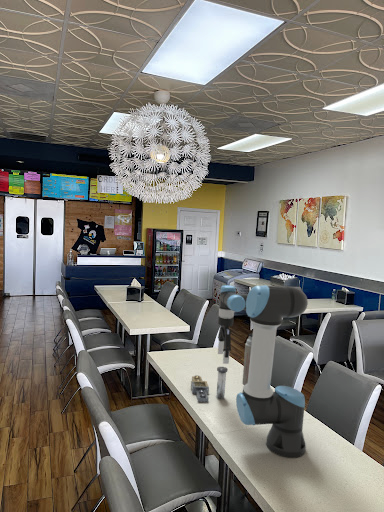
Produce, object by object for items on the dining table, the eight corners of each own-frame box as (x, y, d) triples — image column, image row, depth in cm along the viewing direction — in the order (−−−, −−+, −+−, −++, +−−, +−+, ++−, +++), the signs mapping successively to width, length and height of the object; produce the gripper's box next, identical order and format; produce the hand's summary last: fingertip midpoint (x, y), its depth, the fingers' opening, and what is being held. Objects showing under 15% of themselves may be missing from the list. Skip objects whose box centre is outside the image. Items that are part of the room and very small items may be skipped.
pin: (226, 399, 195) (228, 370, 194) (216, 399, 194) (218, 370, 193) (224, 395, 200) (226, 366, 199) (214, 395, 199) (216, 366, 198)
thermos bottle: (254, 387, 212) (258, 337, 210) (240, 384, 216) (244, 334, 213) (258, 383, 219) (262, 334, 217) (245, 379, 223) (249, 331, 221)
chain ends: (211, 402, 191) (212, 395, 191) (194, 402, 190) (195, 395, 190) (203, 380, 218) (203, 374, 217) (188, 380, 217) (189, 374, 216)
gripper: (239, 323, 182) (235, 367, 184) (228, 311, 207) (225, 350, 209) (223, 323, 181) (220, 367, 183) (214, 310, 206) (211, 350, 208)
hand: (222, 358), depth 196 cm, fingers open, 13 cm apart
